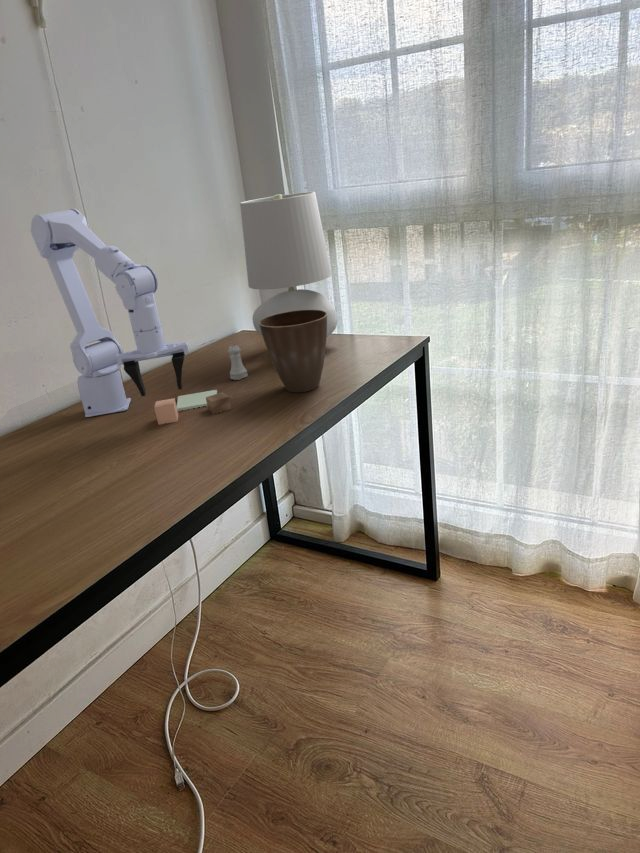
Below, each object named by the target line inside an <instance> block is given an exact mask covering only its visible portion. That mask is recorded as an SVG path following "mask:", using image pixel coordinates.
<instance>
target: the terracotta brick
mask: <svg viewBox="0 0 640 853" xmlns="http://www.w3.org/2000/svg"><path fill="white" fill-rule="evenodd" d="M153 408H154V411H155V416H156V420H157V423H158V425H164V424H165V423H166V424H170V423H176V422H178V421H179V420H178V419H179V411H177V402H176V398H175V397H174V398H173V397H172V398H167V399H162V400H157V401H155V403H154V407H153ZM166 424H165V425H166Z"/></svg>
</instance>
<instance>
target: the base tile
mask: <svg viewBox="0 0 640 853" xmlns="http://www.w3.org/2000/svg"><path fill="white" fill-rule="evenodd" d="M215 394H218V389H211V390H207V391H200V392H195V393H190V394H189V393H188V394H184V395H178V396H177V402H176V406H177V411H178V412H182V410H183V411H188V409H189V410H193V408H195V409H199V408H198V407H200V408H204V407H203V406H206V407H208V406H207V402H206V397H208V396H212V395H215Z"/></svg>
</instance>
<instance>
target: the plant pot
mask: <svg viewBox="0 0 640 853" xmlns="http://www.w3.org/2000/svg"><path fill="white" fill-rule="evenodd" d="M259 326H260V329H261V332H262V336H263V337H262V336H261V337H262V338H263V341H264V344H265V347H266V350H267V351H268V355H269V358H270V360H271V362H272V364H273V367H274V369H275V371H276V373H277V375H278V377H279V379H280V380H281V382H282V384H283V386H284V388H285V390H286V391H287V392H290V393H305V392H310V391H312V390H315V389H317V388H318V387H319V386H320V382H321V378H322V373H323V369H324V364H325V356H326V348H327V338H328V337H327V313H326V312H325V311H322V310H296V311H289V312H284V313H279V314H275V315H271V316H268V317H266V318H264V319H262V320H260V321H259Z"/></svg>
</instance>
